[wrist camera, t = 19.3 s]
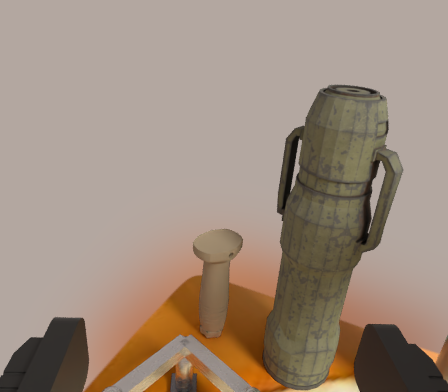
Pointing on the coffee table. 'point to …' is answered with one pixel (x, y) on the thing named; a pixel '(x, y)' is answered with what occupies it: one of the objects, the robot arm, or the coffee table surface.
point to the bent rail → (182, 369)
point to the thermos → (326, 227)
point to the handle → (215, 277)
